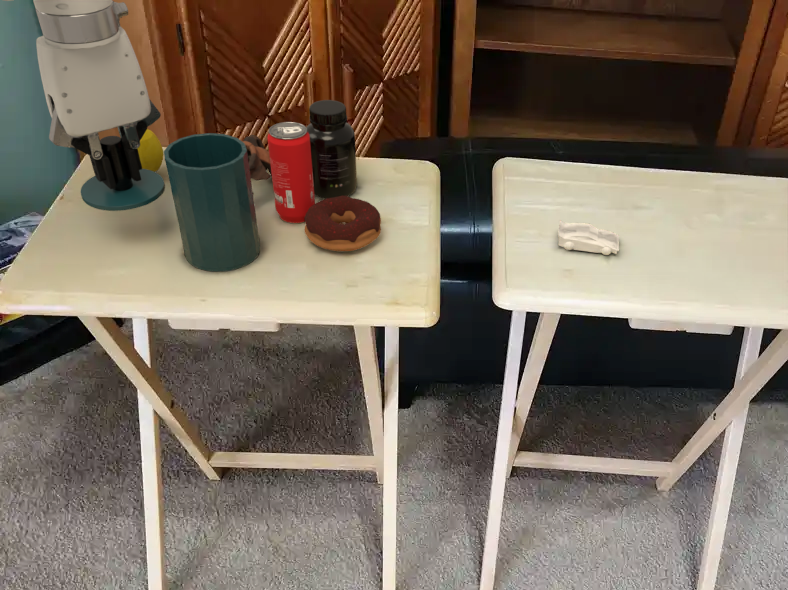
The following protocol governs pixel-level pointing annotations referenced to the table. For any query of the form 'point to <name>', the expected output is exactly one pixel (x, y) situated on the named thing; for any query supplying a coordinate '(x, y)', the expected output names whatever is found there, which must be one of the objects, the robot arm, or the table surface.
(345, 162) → the supplement bottle
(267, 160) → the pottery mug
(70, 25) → the robot arm
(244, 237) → the pot
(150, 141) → the fruit
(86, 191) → the lid
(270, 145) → the beverage can
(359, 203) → the donut
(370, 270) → the table surface
